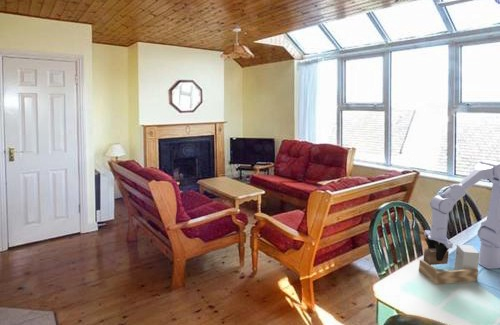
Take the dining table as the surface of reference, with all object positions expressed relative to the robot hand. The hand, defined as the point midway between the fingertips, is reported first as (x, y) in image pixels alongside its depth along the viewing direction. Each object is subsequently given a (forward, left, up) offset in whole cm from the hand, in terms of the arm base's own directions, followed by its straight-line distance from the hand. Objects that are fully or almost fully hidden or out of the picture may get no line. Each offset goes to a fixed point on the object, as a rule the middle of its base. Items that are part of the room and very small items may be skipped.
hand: (435, 258), depth 150 cm
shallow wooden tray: (0, +7, -4) cm, 8 cm away
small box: (-9, +6, -5) cm, 12 cm away
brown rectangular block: (0, 0, -2) cm, 2 cm away
